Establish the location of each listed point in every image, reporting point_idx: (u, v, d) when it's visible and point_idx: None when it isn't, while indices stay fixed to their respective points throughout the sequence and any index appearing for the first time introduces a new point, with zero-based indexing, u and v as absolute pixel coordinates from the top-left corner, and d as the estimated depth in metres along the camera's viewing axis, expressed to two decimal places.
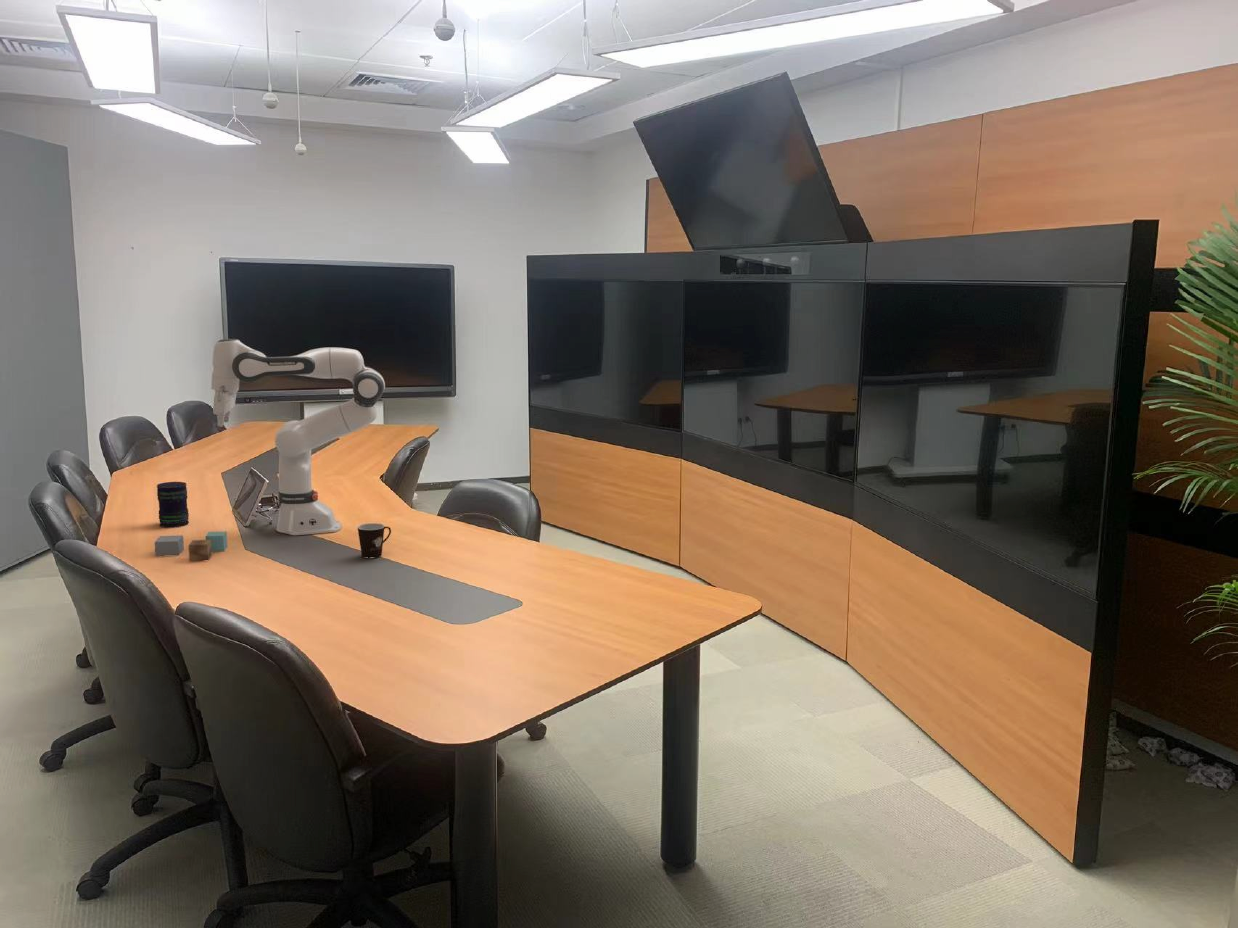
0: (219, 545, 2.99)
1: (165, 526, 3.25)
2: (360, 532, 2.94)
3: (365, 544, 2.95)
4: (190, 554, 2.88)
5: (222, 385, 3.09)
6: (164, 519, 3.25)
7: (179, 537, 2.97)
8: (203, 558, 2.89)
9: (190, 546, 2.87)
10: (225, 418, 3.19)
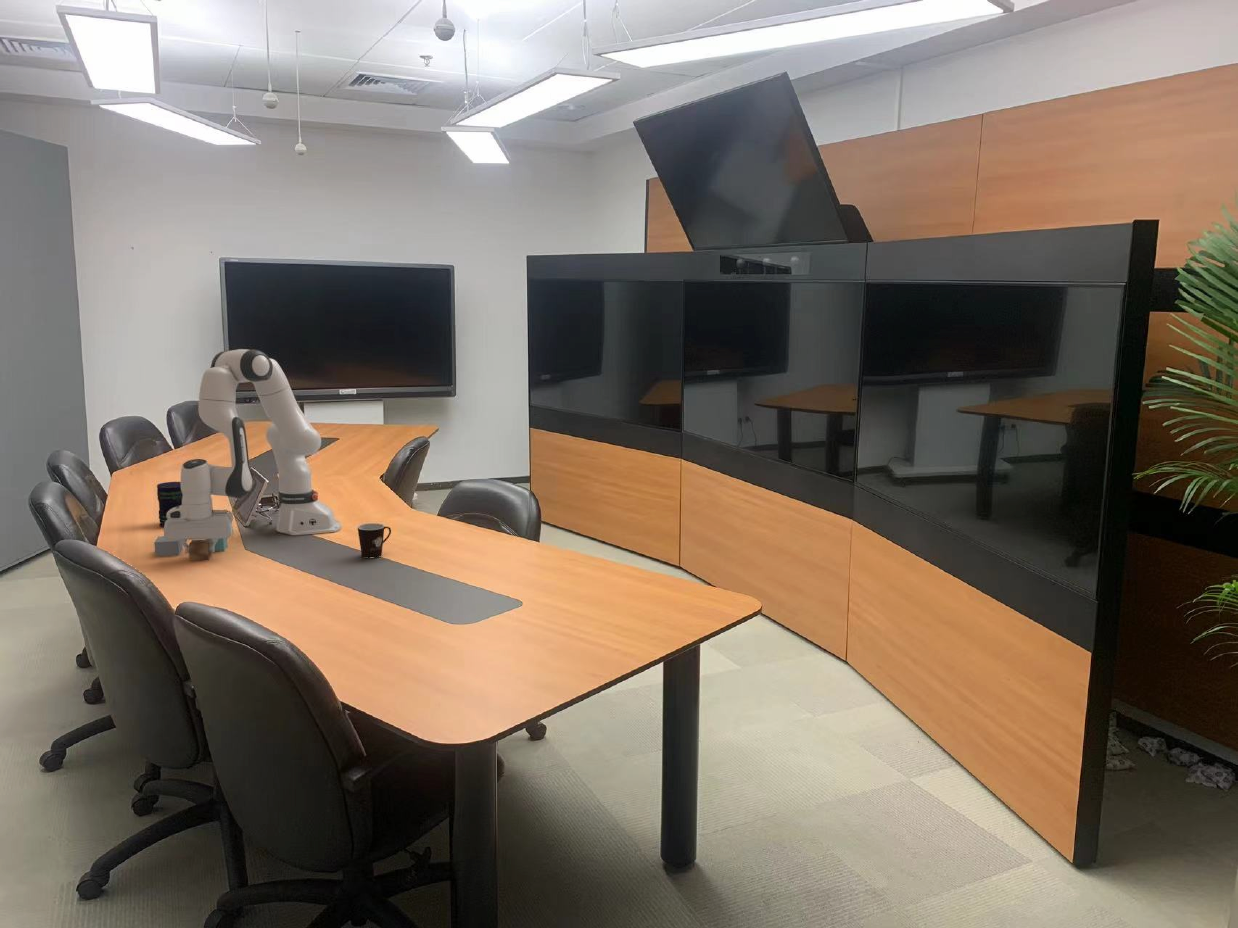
0: (219, 545, 2.99)
1: None
2: (360, 532, 2.94)
3: (365, 544, 2.95)
4: (190, 554, 2.88)
5: (212, 509, 2.89)
6: (164, 519, 3.25)
7: None
8: (203, 558, 2.89)
9: (190, 546, 2.87)
10: None
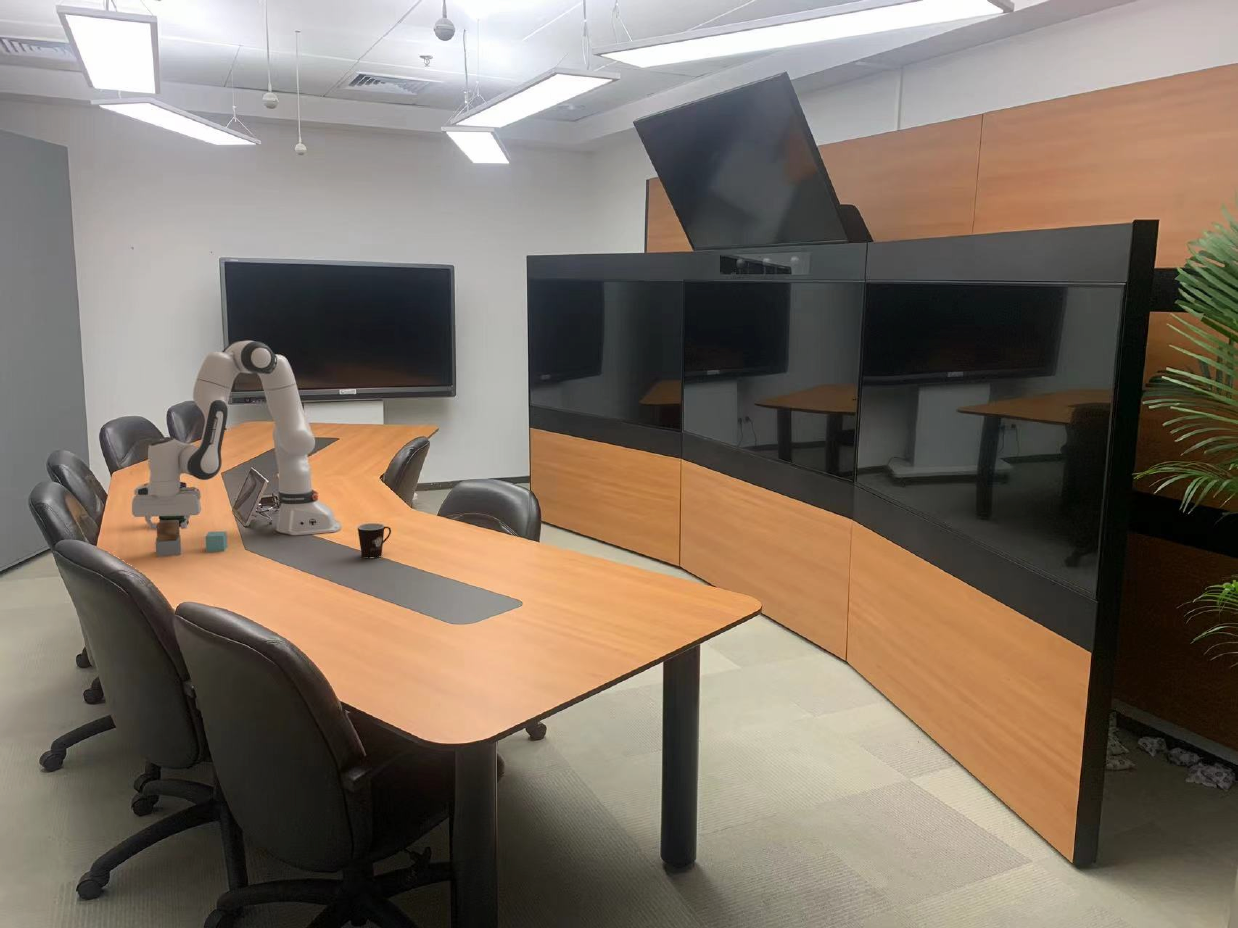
0: (219, 545, 2.99)
1: None
2: (360, 532, 2.94)
3: (365, 544, 2.95)
4: (158, 534, 2.92)
5: (180, 486, 2.93)
6: (164, 519, 3.25)
7: (178, 537, 2.97)
8: (171, 538, 2.93)
9: (158, 526, 2.91)
10: (154, 525, 2.93)
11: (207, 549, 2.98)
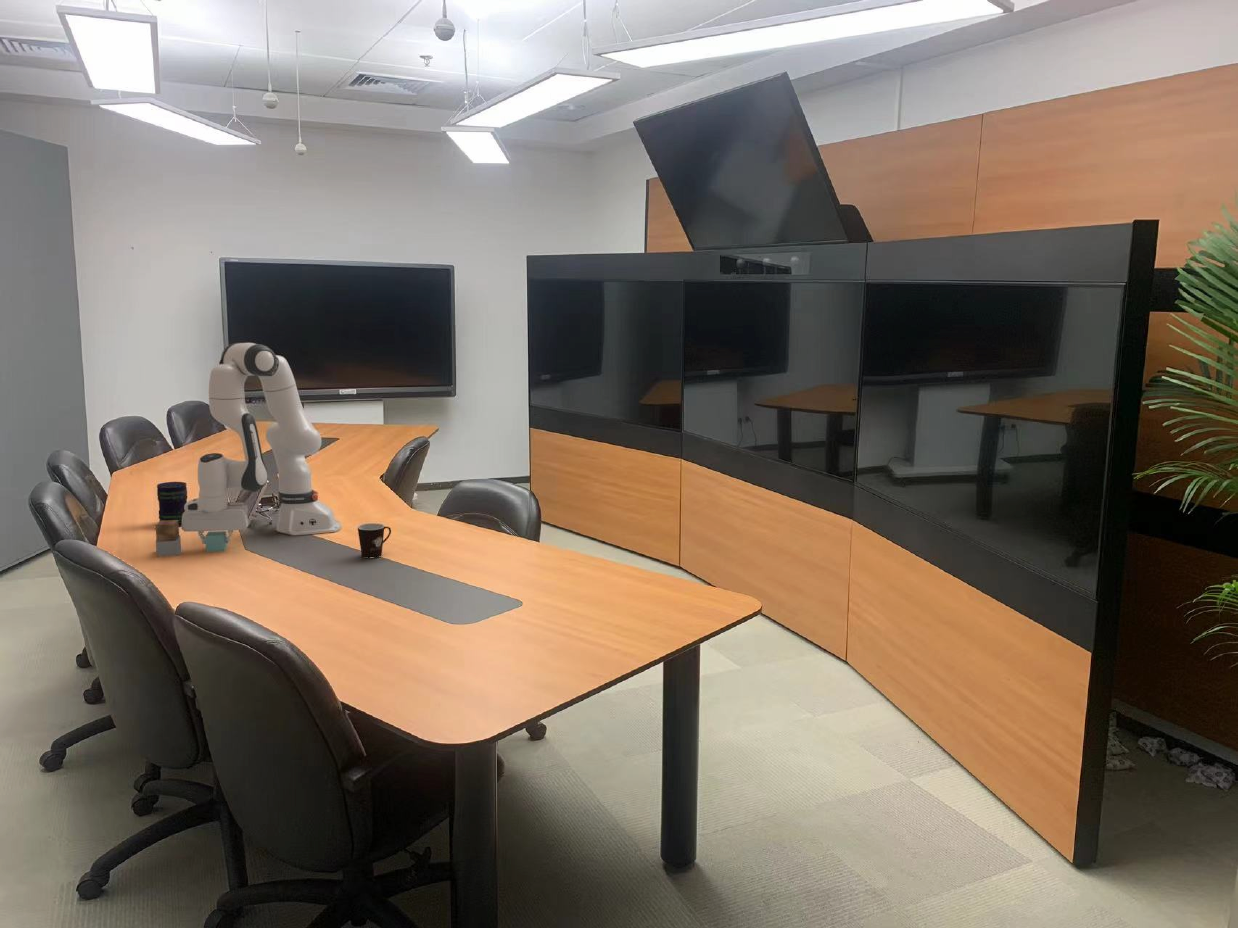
0: (218, 544, 2.99)
1: None
2: (360, 532, 2.94)
3: (365, 544, 2.95)
4: (157, 534, 2.92)
5: None
6: (164, 519, 3.25)
7: (178, 537, 2.97)
8: (170, 538, 2.93)
9: (157, 526, 2.91)
10: None
11: (206, 549, 2.98)
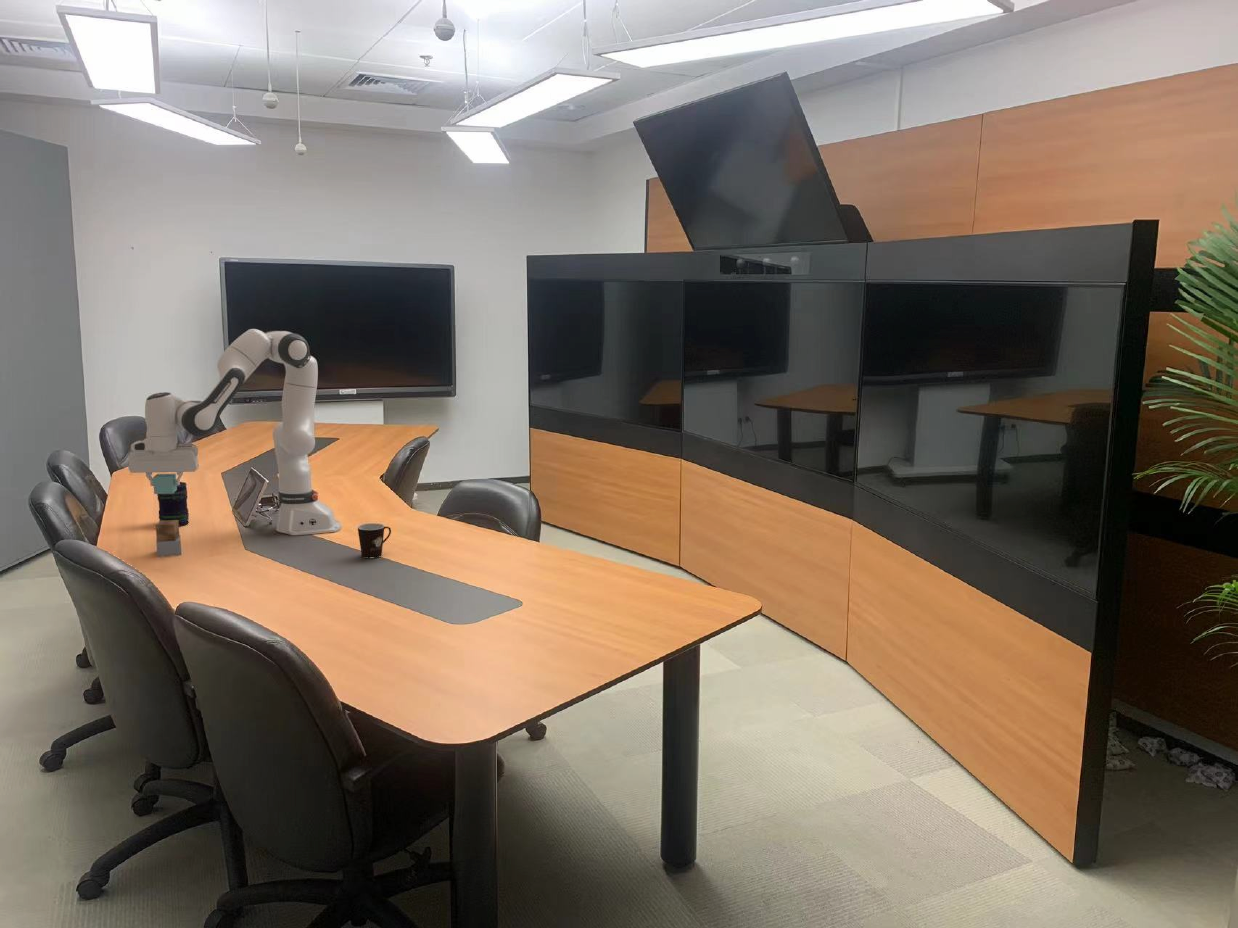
0: (167, 486, 2.89)
1: None
2: (360, 532, 2.94)
3: (365, 544, 2.95)
4: (157, 534, 2.91)
5: (177, 442, 2.90)
6: (164, 519, 3.25)
7: (178, 537, 2.97)
8: (170, 538, 2.93)
9: (157, 526, 2.91)
10: None
11: (154, 491, 2.89)
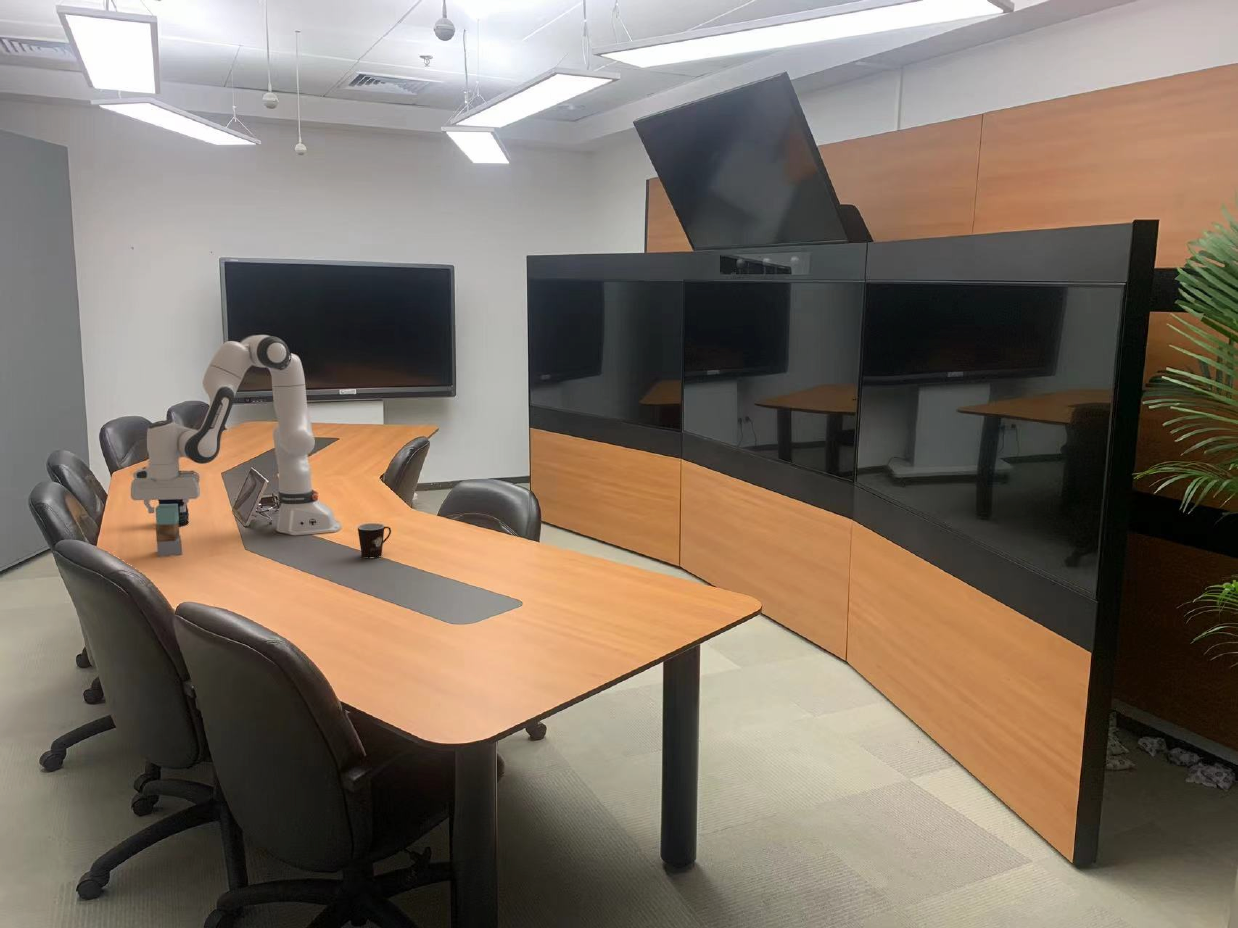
0: (169, 517, 2.91)
1: None
2: (360, 532, 2.94)
3: (365, 544, 2.95)
4: (157, 534, 2.91)
5: (178, 469, 2.92)
6: None
7: (178, 537, 2.97)
8: (170, 538, 2.92)
9: (157, 526, 2.91)
10: (153, 508, 2.92)
11: (157, 522, 2.91)
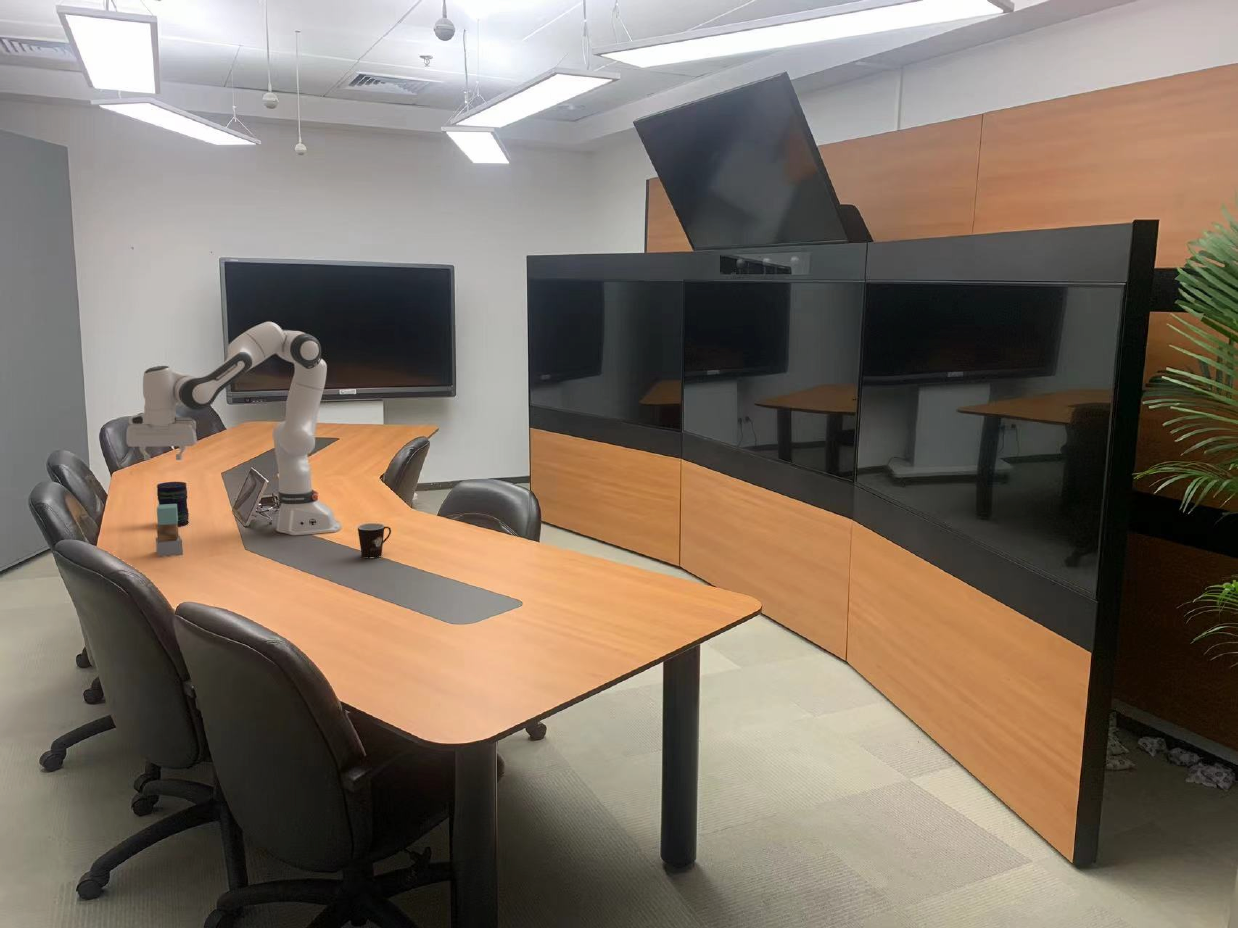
0: (171, 517, 2.91)
1: None
2: (360, 532, 2.94)
3: (365, 544, 2.95)
4: (158, 534, 2.91)
5: (175, 416, 2.88)
6: None
7: (178, 537, 2.97)
8: (171, 538, 2.92)
9: (158, 526, 2.90)
10: (149, 455, 2.89)
11: (158, 522, 2.90)
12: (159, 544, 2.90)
